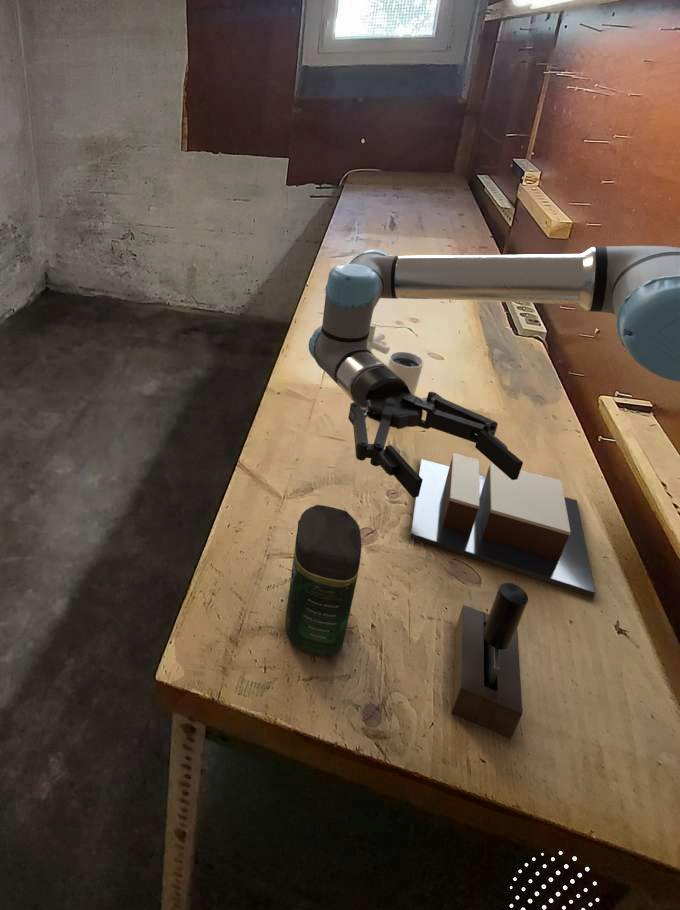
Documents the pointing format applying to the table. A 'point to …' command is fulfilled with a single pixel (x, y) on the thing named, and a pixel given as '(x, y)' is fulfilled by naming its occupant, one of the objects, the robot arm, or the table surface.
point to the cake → (525, 512)
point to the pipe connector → (376, 341)
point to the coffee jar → (323, 580)
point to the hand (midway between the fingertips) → (468, 480)
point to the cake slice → (462, 493)
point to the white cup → (406, 368)
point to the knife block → (469, 693)
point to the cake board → (430, 530)
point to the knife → (501, 627)
